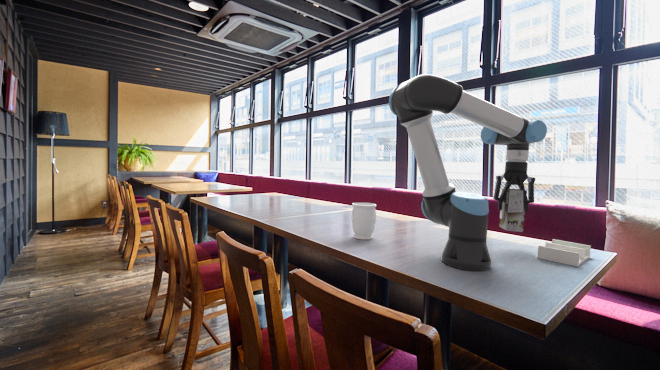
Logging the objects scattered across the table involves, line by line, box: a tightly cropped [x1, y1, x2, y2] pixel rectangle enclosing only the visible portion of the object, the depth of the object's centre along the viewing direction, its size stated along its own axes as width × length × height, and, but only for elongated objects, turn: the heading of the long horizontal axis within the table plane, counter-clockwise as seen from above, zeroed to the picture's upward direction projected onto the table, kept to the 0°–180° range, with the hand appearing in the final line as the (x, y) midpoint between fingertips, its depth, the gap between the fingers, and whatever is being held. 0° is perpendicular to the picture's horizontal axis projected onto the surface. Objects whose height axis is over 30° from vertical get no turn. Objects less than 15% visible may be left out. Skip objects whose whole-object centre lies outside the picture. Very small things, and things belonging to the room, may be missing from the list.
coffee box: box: [498, 187, 528, 233], centre depth 128 cm, size 9×6×16 cm
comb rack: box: [537, 238, 592, 267], centre depth 118 cm, size 12×18×4 cm
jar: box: [351, 201, 378, 241], centre depth 140 cm, size 11×10×15 cm
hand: (511, 219), depth 128 cm, fingers closed on coffee box, 7 cm apart
